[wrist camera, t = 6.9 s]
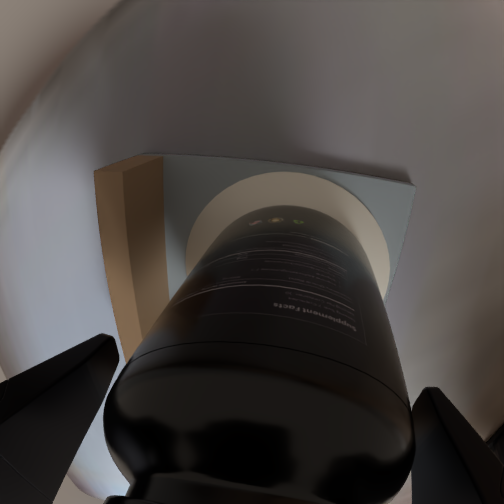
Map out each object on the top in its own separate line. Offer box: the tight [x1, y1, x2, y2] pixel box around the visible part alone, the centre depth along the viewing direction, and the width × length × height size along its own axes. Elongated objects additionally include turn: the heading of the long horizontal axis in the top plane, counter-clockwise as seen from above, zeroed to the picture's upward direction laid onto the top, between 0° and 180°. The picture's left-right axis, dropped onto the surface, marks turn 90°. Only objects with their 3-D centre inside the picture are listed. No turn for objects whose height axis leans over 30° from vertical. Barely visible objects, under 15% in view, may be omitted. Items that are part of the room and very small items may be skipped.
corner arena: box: [94, 153, 416, 364], centre depth 12 cm, size 11×11×4 cm
